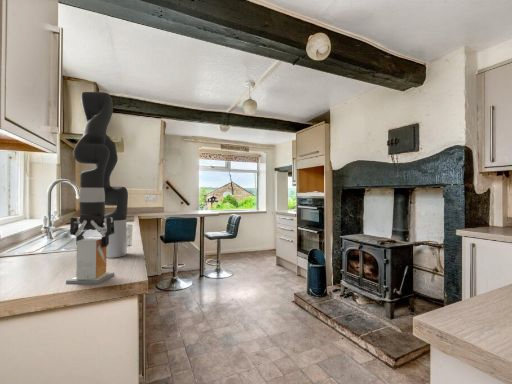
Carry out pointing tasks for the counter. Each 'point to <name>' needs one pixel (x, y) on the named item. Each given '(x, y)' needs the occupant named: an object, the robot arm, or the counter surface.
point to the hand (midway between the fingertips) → (92, 247)
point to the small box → (90, 258)
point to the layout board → (90, 281)
